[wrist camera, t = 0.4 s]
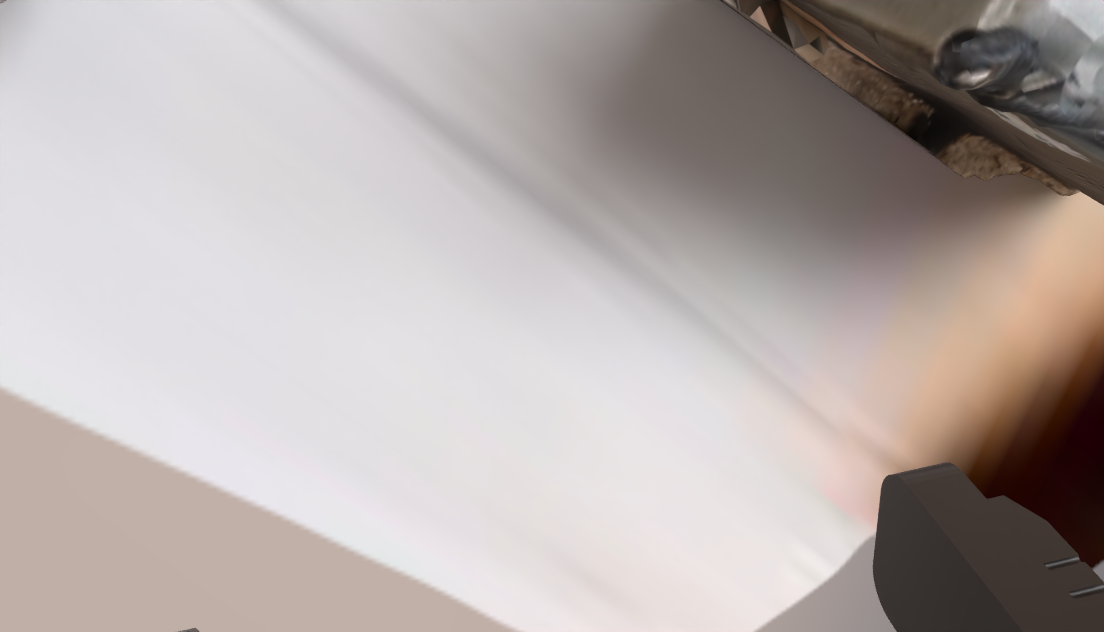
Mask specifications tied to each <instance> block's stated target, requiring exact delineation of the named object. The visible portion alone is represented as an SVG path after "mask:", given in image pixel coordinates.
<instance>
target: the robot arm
mask: <svg viewBox="0 0 1104 632" xmlns="http://www.w3.org/2000/svg"><path fill="white" fill-rule="evenodd" d="M873 575H874V582H875V586H876V590H877V594H878V597H879V600H880V603H881V605H882V607H883V609H884V611H885V613H886V615H887V617H888V619H889V620H890V622H891V623H892V625H893V626H894V628H895V629H896V631H897V632H1104V582H1103V581H1102V580H1101V579H1100V578H1099V576H1098V575H1097V574H1096V573H1095V572H1094V571H1093V570H1092V569H1091V568H1090V567H1089V566H1088V565H1087V564H1086V563H1085V562H1081V561H1080V560H1079V555H1078V554H1077V553H1076V552H1075V551H1074V550H1073V549H1072V547H1071V546H1070V545H1069V544H1068V543H1067V542H1066V541H1065V540H1064V539H1063V538H1062V537H1061V536H1060V535H1059V534H1058V532H1057V531H1056V530H1055V529H1054V528H1053V527H1052V526H1051V525H1050V524H1049V523H1048V522H1047V521H1046V520H1044V519H1042V518H1041V517H1039V516H1037V515H1036V514H1034V513H1032V512H1031V511H1029V510H1027V509H1026V508H1024V507H1022V506H1021V505H1019V504H1017V503H1015V502H1014V501H1012V500H1010V499H1009V498H1007V497H1005V496H1004V495H1003V496H999V497H995V498H990V499H986V498H985V497H984V496H983V495H982V493H981V492H980V491H979V490H978V489H977V488H976V487H975V485H974V484H973V483H972V482H971V481H970V480H969V479H968V478H967V476H966V475H965V474H964V473H963V472H962V471H961V470H960V469H959V468H958V467H957V466H955V465H954V464H951V463H947V462H946V463H941V464H937V465H932V466H928V467H923V468H919V469H914V470H910V471H905V472H901V473H896V474H892V475H888V476H887V477H886V478H885V479H884V481H883V483H882V488H881V495H880V504H879V513H878V523H877V532H876V541H875V550H874V560H873ZM179 632H199V631H198V630H197V629H196V628H192V629H188V630H183V631H179Z"/></svg>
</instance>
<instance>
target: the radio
mask: <svg viewBox="0 0 1104 632" xmlns="http://www.w3.org/2000/svg"><path fill="white" fill-rule="evenodd" d="M721 1H722V2H723V3H725V4H726V5H728V6H729V7H730V8H732V9H733V10H734V11H736V12H737V13H739V14H740V15H741V16H743V17H744V18H745V19H747V20H748V21H750V22H751V23H752V24H754V25H755V26H756V27H758V28H759V29H761V30H762V31H763V32H765V33H766V34H767V35H769V36H770V37H771V38H773V39H774V40H776V41H777V42H778V43H780V44H781V45H782V46H784V47H785V48H787V49H788V50H789V51H791V52H792V53H793V54H795V55H796V56H798V57H799V58H800V59H802V60H803V61H804V62H806V63H807V64H809V65H810V66H811V67H813V68H814V69H815V70H817V71H818V72H819V73H821V74H822V75H824V76H825V77H826V78H828V79H829V80H830V81H832V82H833V83H835V84H836V85H837V86H839V87H840V88H841V89H843V90H844V91H846V92H847V93H848V94H850V95H851V96H852V97H854V98H855V99H857V100H858V101H859V102H861V103H862V104H863V105H865V106H866V107H868V108H869V109H870V110H872V111H873V112H874V113H876V114H877V115H878V116H880V117H881V118H883V119H884V120H885V121H887V122H888V123H889V124H891V125H892V126H894V127H895V128H896V129H898V130H899V131H900V132H902V133H903V134H905V135H906V136H907V137H909V138H910V139H911V140H913V141H914V142H916V143H917V144H918V145H920V146H921V147H922V148H924V149H925V150H926V151H928V152H929V153H931V154H932V155H933V156H935V157H936V158H937V159H939V160H940V161H942V162H943V163H944V164H946V165H947V166H948V167H950V168H951V169H953V170H954V171H955V172H957V173H958V174H959V175H961V176H962V177H964V178H968V177H971V176H973V175H975V176H977V177H978V178H980V179H983V180H985V181H987V180H989V179H991V178H992V177H994V176H995V175H996V176H1001V175H1004V174H1009V175H1013V174H1016V173H1019V172H1020V173H1022V174H1023V175H1025V176H1029V177H1033V178H1036V179H1038V180H1040V181H1042V182H1043V183H1044V184H1046V185H1047V186H1048V187H1050V188H1052V189H1053V190H1055V191H1056V192H1057V193H1059V194H1060V195H1066V196H1070V195H1073V194H1076V193H1078V192H1080V191H1081V192H1082V193H1084V194H1085V195H1087V196H1089V197H1091V198H1092V199H1094V200H1095V201H1097V202H1099V203H1101V204H1102V205H1104V0H721Z"/></svg>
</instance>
